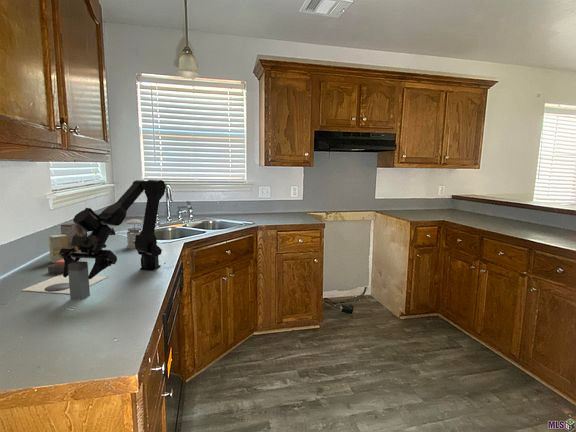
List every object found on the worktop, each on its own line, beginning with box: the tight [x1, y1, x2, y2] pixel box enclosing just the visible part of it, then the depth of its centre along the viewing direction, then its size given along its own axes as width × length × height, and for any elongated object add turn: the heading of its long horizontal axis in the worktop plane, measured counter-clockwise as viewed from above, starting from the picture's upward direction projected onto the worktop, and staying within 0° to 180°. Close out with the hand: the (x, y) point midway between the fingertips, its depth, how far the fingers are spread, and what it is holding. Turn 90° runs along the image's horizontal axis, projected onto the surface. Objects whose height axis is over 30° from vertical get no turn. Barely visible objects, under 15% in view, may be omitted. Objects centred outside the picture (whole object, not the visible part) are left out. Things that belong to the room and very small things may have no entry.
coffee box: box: [60, 222, 88, 252], centre depth 160 cm, size 9×6×16 cm
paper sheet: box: [21, 274, 108, 295], centre depth 124 cm, size 20×18×1 cm
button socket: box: [47, 263, 64, 275], centre depth 138 cm, size 8×8×3 cm
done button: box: [54, 259, 64, 266], centre depth 138 cm, size 4×4×3 cm
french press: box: [125, 201, 143, 249], centre depth 181 cm, size 10×12×25 cm
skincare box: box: [48, 234, 68, 264], centre depth 151 cm, size 6×4×12 cm
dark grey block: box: [68, 260, 91, 301], centre depth 111 cm, size 4×4×12 cm
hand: (76, 277), depth 110 cm, fingers open, 9 cm apart
